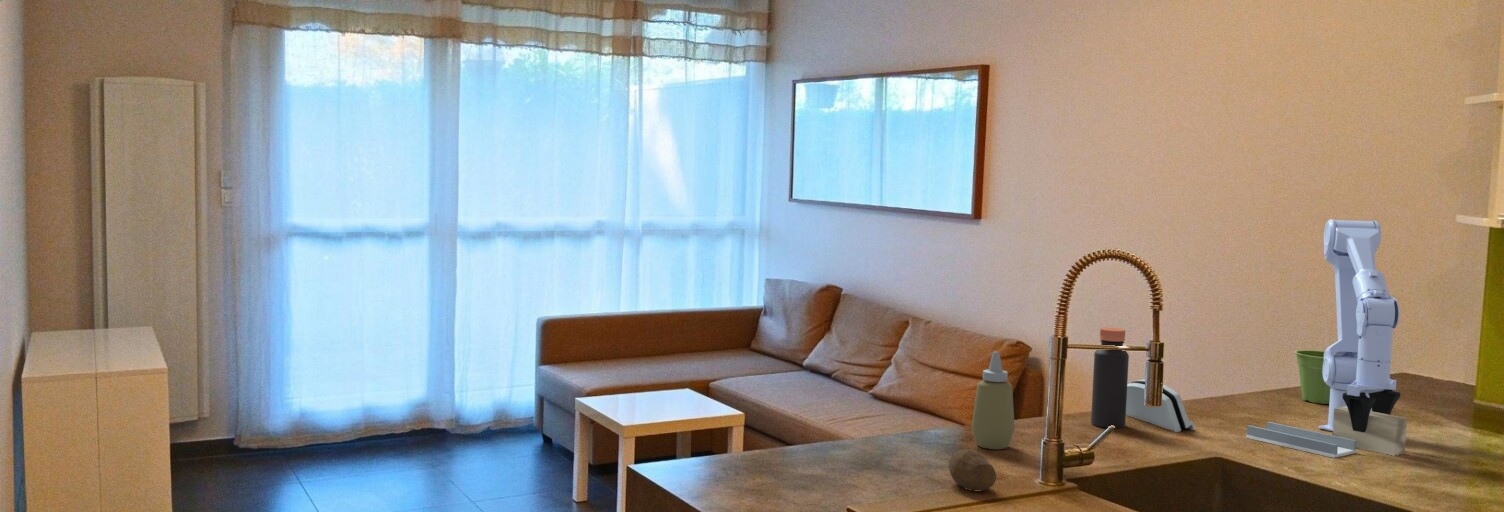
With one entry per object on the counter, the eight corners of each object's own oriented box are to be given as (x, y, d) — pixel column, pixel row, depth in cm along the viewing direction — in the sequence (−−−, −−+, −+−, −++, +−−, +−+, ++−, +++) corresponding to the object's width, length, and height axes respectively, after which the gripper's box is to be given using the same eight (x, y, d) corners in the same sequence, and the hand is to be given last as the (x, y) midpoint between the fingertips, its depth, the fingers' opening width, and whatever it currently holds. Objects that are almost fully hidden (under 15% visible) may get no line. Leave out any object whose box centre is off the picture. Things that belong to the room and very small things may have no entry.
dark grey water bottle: (1089, 426, 237) (1094, 330, 236) (1092, 420, 244) (1097, 326, 242) (1123, 430, 235) (1128, 332, 233) (1126, 423, 241) (1131, 328, 240)
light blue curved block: (1196, 430, 236) (1185, 385, 234) (1178, 439, 235) (1167, 394, 233) (1143, 413, 252) (1133, 371, 250) (1126, 421, 251) (1115, 379, 249)
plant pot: (1357, 407, 264) (1361, 358, 263) (1305, 406, 264) (1308, 357, 263) (1332, 397, 276) (1335, 350, 275) (1282, 395, 276) (1285, 348, 275)
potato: (970, 498, 184) (972, 459, 184) (936, 482, 193) (937, 445, 193) (1004, 494, 187) (1006, 456, 187) (968, 478, 196) (970, 442, 196)
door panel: (1342, 440, 231) (1345, 406, 231) (1404, 454, 221) (1407, 418, 221) (1332, 443, 229) (1334, 408, 228) (1393, 456, 219) (1396, 420, 219)
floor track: (1268, 433, 236) (1269, 421, 236) (1356, 452, 221) (1357, 440, 221) (1245, 437, 231) (1246, 425, 231) (1334, 457, 216) (1334, 445, 216)
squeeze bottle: (1018, 444, 221) (1022, 351, 219) (1008, 453, 213) (1013, 357, 212) (976, 439, 224) (980, 347, 222) (965, 448, 217) (969, 353, 215)
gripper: (1375, 366, 216) (1370, 437, 217) (1414, 360, 225) (1409, 429, 226) (1338, 360, 222) (1333, 429, 223) (1377, 355, 230) (1372, 422, 231)
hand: (1369, 429), depth 225 cm, fingers open, 7 cm apart
